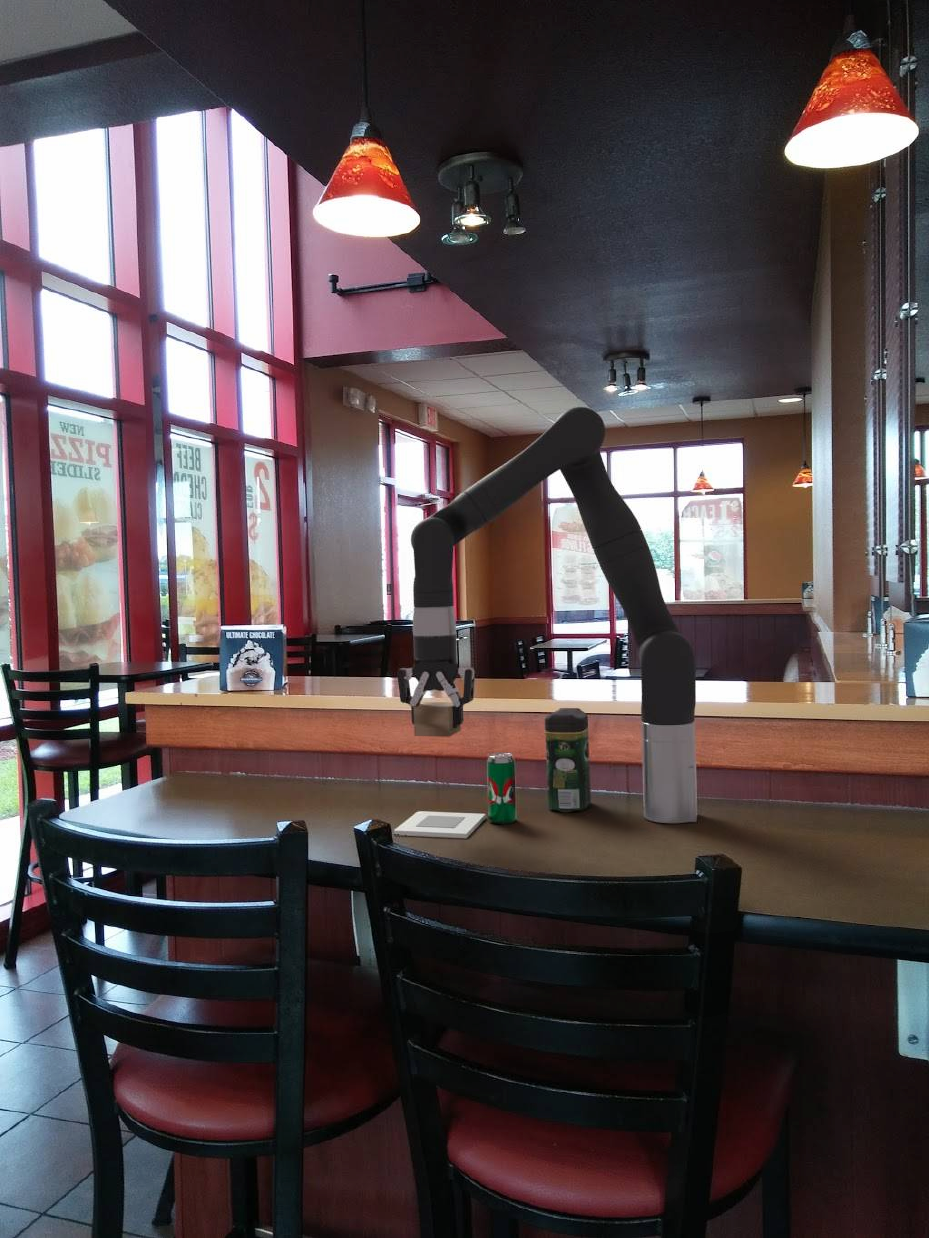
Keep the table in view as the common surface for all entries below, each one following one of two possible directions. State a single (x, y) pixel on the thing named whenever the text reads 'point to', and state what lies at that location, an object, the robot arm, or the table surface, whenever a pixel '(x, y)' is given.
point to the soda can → (501, 788)
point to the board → (440, 824)
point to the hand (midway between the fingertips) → (437, 726)
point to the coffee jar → (567, 760)
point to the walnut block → (434, 719)
